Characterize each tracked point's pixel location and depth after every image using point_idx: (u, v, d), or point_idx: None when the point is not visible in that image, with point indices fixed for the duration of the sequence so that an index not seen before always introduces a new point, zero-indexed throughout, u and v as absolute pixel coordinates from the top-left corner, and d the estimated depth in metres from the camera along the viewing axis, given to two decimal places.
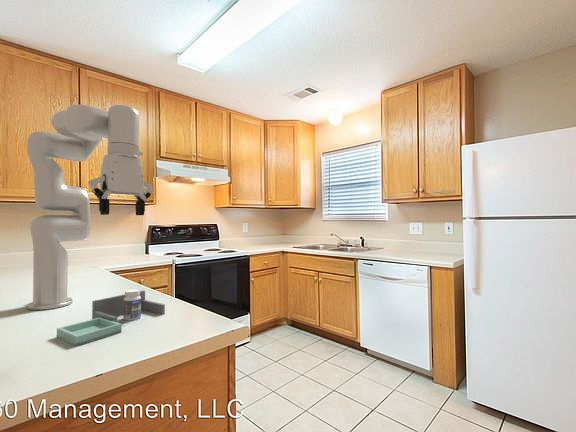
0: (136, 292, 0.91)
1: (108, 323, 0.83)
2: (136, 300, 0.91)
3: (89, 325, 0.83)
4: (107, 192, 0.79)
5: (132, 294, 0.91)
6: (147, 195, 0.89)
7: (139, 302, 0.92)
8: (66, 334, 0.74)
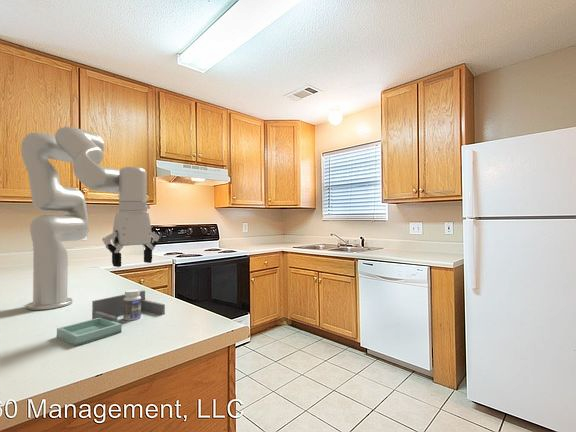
0: (136, 292, 0.91)
1: (108, 323, 0.83)
2: (136, 300, 0.91)
3: (89, 325, 0.83)
4: (119, 247, 0.88)
5: (132, 294, 0.91)
6: (154, 244, 0.98)
7: (139, 302, 0.92)
8: (66, 334, 0.74)
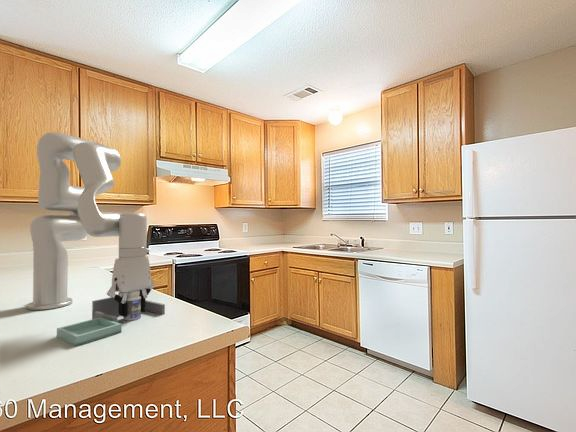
0: (136, 292, 0.91)
1: (108, 323, 0.83)
2: (136, 300, 0.91)
3: (89, 325, 0.83)
4: (124, 297, 0.89)
5: (132, 294, 0.91)
6: (147, 291, 0.96)
7: (139, 302, 0.92)
8: (66, 334, 0.74)
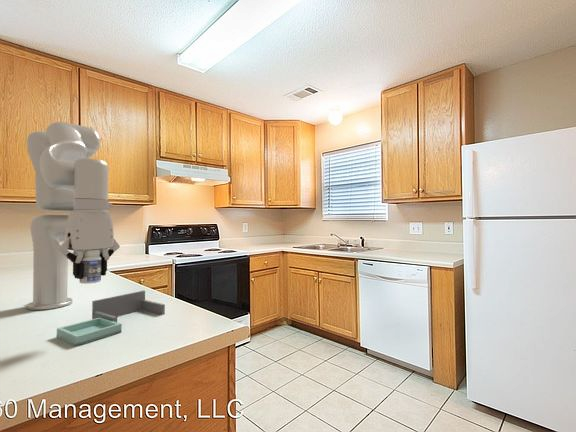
0: (95, 251, 0.79)
1: (108, 323, 0.83)
2: (94, 260, 0.78)
3: (89, 325, 0.83)
4: (79, 255, 0.76)
5: (89, 253, 0.78)
6: (110, 253, 0.83)
7: (98, 263, 0.79)
8: (66, 334, 0.74)
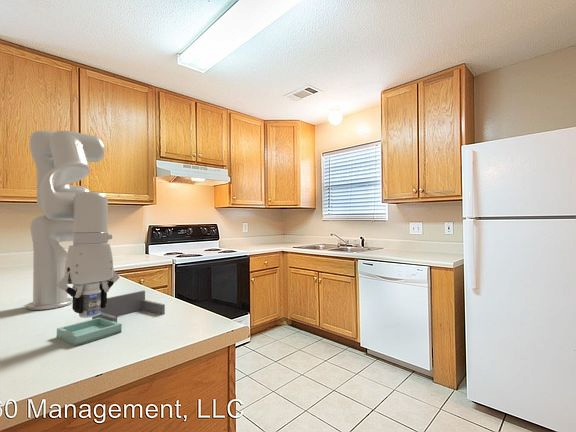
0: (94, 285, 0.78)
1: (108, 323, 0.83)
2: (94, 293, 0.78)
3: (89, 325, 0.83)
4: (78, 290, 0.76)
5: (89, 287, 0.77)
6: (109, 284, 0.83)
7: (98, 296, 0.79)
8: (66, 334, 0.74)
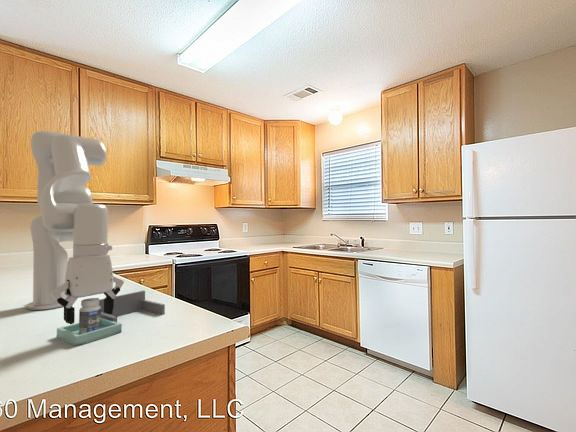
0: (94, 301, 0.78)
1: (108, 323, 0.83)
2: (94, 310, 0.78)
3: None
4: (72, 300, 0.74)
5: (88, 304, 0.78)
6: (116, 291, 0.84)
7: (98, 313, 0.79)
8: (66, 334, 0.74)
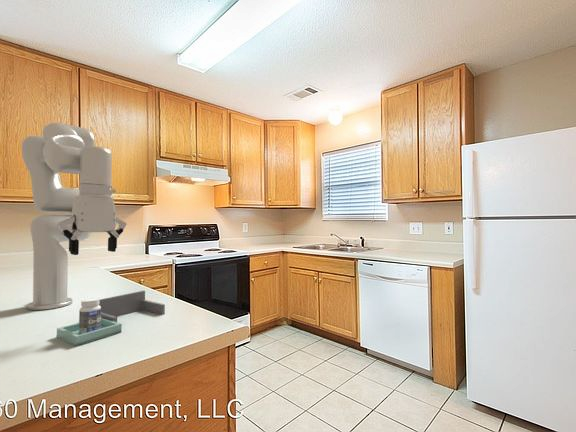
0: (94, 301, 0.78)
1: (108, 323, 0.83)
2: (94, 310, 0.78)
3: None
4: (76, 233, 0.80)
5: (88, 304, 0.78)
6: (119, 231, 0.90)
7: (98, 313, 0.79)
8: (66, 334, 0.74)
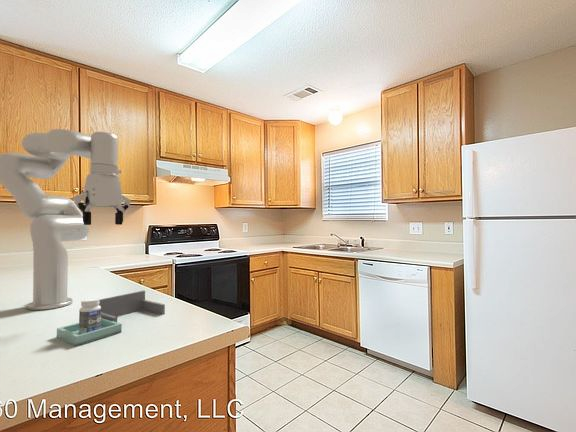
0: (94, 301, 0.78)
1: (108, 323, 0.83)
2: (94, 310, 0.78)
3: None
4: (89, 206, 0.93)
5: (89, 304, 0.78)
6: (125, 207, 1.03)
7: (98, 313, 0.79)
8: (66, 334, 0.74)
